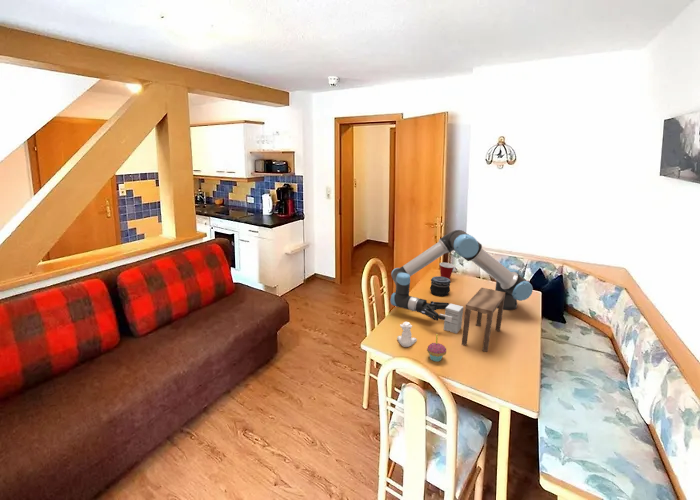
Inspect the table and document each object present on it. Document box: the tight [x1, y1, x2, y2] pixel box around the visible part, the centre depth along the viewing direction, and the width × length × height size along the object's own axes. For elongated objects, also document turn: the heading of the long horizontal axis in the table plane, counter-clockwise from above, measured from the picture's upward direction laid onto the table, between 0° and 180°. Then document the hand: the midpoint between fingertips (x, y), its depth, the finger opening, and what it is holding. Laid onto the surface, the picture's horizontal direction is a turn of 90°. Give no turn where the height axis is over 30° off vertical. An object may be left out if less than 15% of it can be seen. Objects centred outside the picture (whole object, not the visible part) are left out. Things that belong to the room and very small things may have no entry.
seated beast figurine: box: [396, 321, 418, 348], centre depth 182 cm, size 10×9×12 cm
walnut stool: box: [461, 287, 505, 353], centre depth 189 cm, size 12×28×21 cm, turn 147°
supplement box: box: [443, 303, 464, 334], centre depth 198 cm, size 7×7×13 cm
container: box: [429, 275, 452, 297], centre depth 247 cm, size 13×13×10 cm
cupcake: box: [426, 333, 447, 362], centre depth 170 cm, size 9×8×12 cm
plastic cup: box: [439, 262, 456, 280], centre depth 271 cm, size 11×11×12 cm
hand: (456, 314), depth 197 cm, fingers open, 13 cm apart
